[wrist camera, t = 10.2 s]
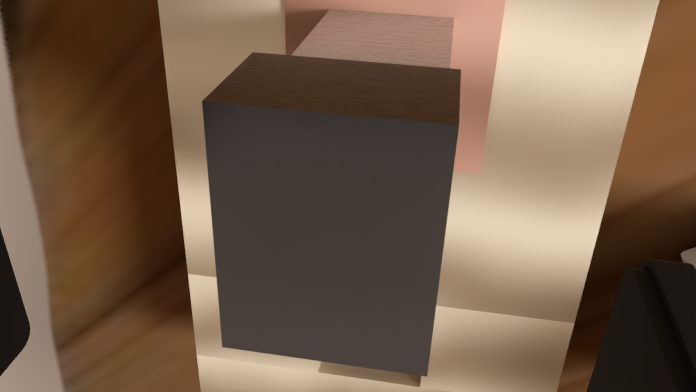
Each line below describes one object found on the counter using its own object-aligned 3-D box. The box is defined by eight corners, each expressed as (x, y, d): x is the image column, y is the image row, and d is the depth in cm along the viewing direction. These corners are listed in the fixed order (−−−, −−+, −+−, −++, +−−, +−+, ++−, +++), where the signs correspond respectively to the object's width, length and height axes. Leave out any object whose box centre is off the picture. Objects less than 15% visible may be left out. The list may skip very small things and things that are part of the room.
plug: (324, -17, 20) (201, 100, 11) (463, -8, 20) (459, 125, 10) (321, 143, 23) (222, 347, 14) (444, 155, 23) (427, 376, 13)
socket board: (211, -117, 25) (143, -106, 20) (633, -97, 23) (682, -79, 18) (239, 317, 36) (199, 400, 31) (530, 356, 34) (541, 452, 29)
